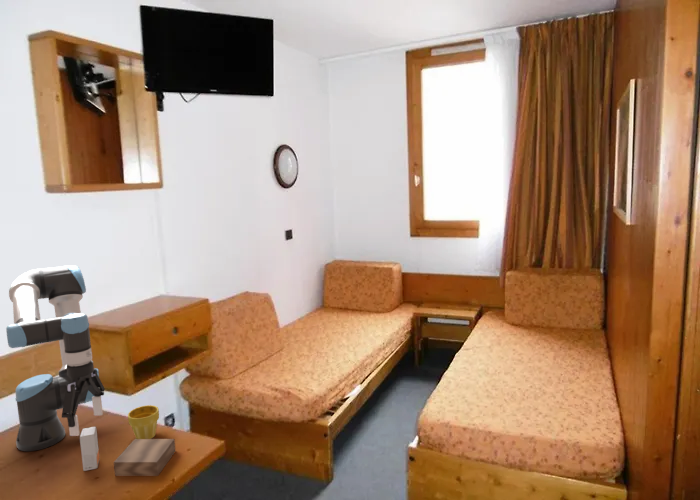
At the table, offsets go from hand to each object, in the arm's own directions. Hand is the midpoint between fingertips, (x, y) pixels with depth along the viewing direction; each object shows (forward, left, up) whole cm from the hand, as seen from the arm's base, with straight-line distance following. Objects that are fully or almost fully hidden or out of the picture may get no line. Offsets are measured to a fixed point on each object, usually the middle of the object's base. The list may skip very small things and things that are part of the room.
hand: (87, 424), depth 162 cm
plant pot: (+10, +18, -15) cm, 25 cm away
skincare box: (0, 0, -15) cm, 15 cm away
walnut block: (+18, +1, -15) cm, 23 cm away
